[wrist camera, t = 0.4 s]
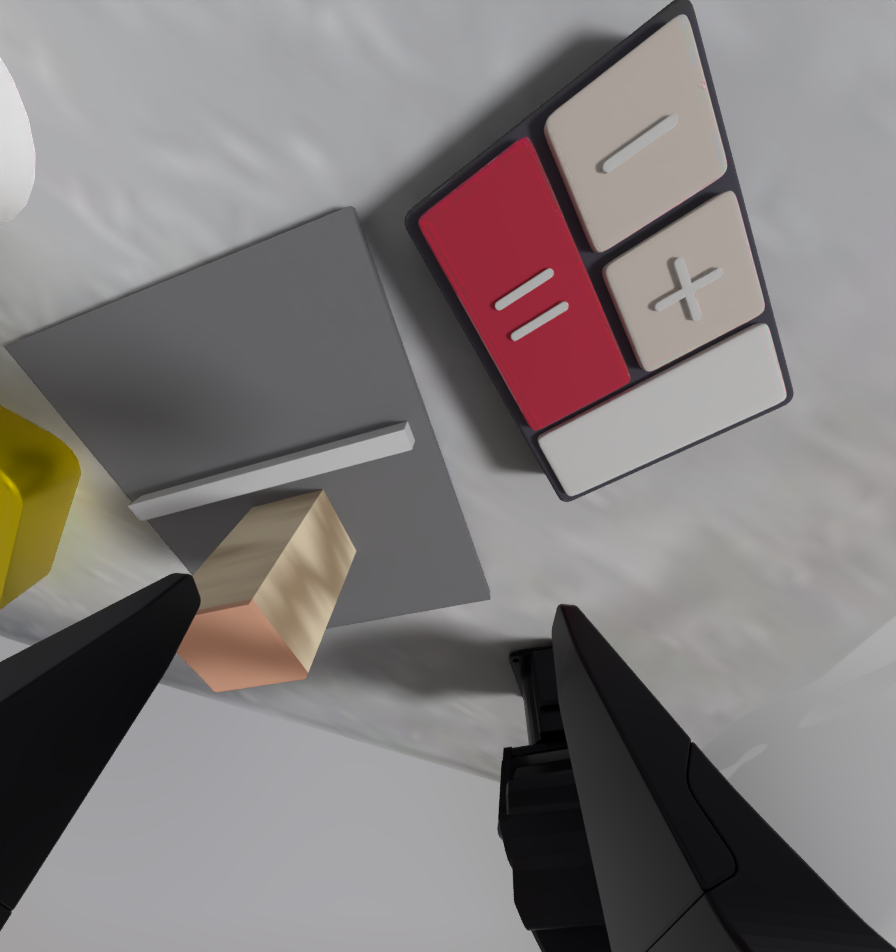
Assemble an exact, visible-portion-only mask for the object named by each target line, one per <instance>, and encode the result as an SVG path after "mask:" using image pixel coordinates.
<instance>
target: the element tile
mask: <svg viewBox="0 0 896 952" xmlns="http://www.w3.org/2000/svg"><path fill="white" fill-rule="evenodd" d="M80 476H81V471H80V466H79V462H78V459H77V458H76V456H75V455H74V453H73V451H72V450H71V449H70V448H69V447H68V446H67V445H66V444H64V443H63V442H62V441H61V440H60V439H58V438H57V437H56V436H54V435H53V434H51V433H49V432H48V431H46V430H44V429H42V428H40V427H38V426H37V425H35V424H33V423H31V422H29V421H28V420H26V419H24V418H22V417H20V416H18V415H17V414H15V413H13V412H11V411H9V410H8V409H6V408H4V407H2V406H0V610H1V609H2V608H3V607H5V606H6V605H7V604H9V603H10V602H11V601H13V600H14V599H15V598H17V597H18V596H19V595H21V594H22V593H23V592H25V591H26V590H27V589H29V588H30V587H32V586H33V585H34V584H36V583H37V582H38V581H40V580H41V579H42V578H44V577H45V576H46V575H48V573H49V572H50V570H51V567H52V564H53V561H54V557H55V554H56V551H57V548H58V545H59V542H60V538H61V535H62V532H63V529H64V526H65V523H66V520H67V516H68V513H69V510H70V507H71V504H72V501H73V498H74V494H75V491H76V488H77V485H78V482H79V479H80Z"/></svg>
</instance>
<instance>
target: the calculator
mask: <svg viewBox="0 0 896 952" xmlns="http://www.w3.org/2000/svg"><path fill="white" fill-rule="evenodd" d="M405 226H406V228H407V231H408V233H409V234H410V236H411V238H412V240H413V241H414V243H415V245H416V247H417V249H418V250H419V252H420V254H421V256H422V257H423V259H424V261H425V263H426V264H427V266H428V268H429V270H430V271H431V273H432V275H433V277H434V279H435V280H436V282H437V284H438V286H439V287H440V289H441V291H442V293H443V294H444V296H445V298H446V300H447V301H448V303H449V305H450V307H451V309H452V310H453V312H454V314H455V316H456V317H457V319H458V321H459V323H460V324H461V326H462V328H463V330H464V331H465V333H466V335H467V337H468V339H469V340H470V342H471V344H472V346H473V347H474V349H475V351H476V353H477V354H478V356H479V358H480V360H481V361H482V363H483V365H484V367H485V369H486V370H487V372H488V374H489V376H490V377H491V379H492V381H493V383H494V384H495V386H496V388H497V390H498V391H499V393H500V395H501V397H502V399H503V400H504V402H505V404H506V406H507V407H508V409H509V411H510V413H511V414H512V416H513V418H514V420H515V421H516V423H517V425H518V427H519V429H520V430H521V432H522V434H523V436H524V437H525V439H526V441H527V443H528V444H529V446H530V448H531V450H532V451H533V453H534V455H535V457H536V458H537V460H538V462H539V464H540V466H541V467H542V469H543V471H544V473H545V474H546V476H547V478H548V480H549V481H550V483H551V485H552V487H553V488H554V490H555V492H556V494H557V495H558V497H559V498H560V500H562V501H564V502H569V501H572V500H575V499H577V498H579V497H581V496H583V495H586V494H588V493H590V492H592V491H595V490H597V489H599V488H601V487H604V486H606V485H608V484H610V483H613V482H615V481H617V480H619V479H621V478H624V477H626V476H628V475H630V474H633V473H635V472H637V471H639V470H642V469H644V468H646V467H648V466H651V465H653V464H655V463H657V462H659V461H662V460H664V459H666V458H668V457H671V456H673V455H675V454H677V453H680V452H682V451H684V450H686V449H689V448H691V447H693V446H695V445H697V444H700V443H702V442H704V441H706V440H709V439H711V438H713V437H715V436H718V435H720V434H722V433H724V432H727V431H729V430H731V429H733V428H735V427H738V426H740V425H742V424H744V423H747V422H749V421H751V420H753V419H756V418H758V417H760V416H762V415H764V414H767V413H769V412H771V411H773V410H776V409H778V408H780V407H782V406H784V405H786V404H788V403H789V402H790V401H791V399H792V398H793V388H792V384H791V380H790V376H789V372H788V369H787V365H786V361H785V357H784V353H783V349H782V345H781V342H780V338H779V334H778V330H777V326H776V322H775V319H774V315H773V311H772V307H771V303H770V299H769V296H768V292H767V288H766V284H765V280H764V276H763V273H762V269H761V265H760V261H759V257H758V253H757V250H756V246H755V242H754V238H753V234H752V230H751V226H750V223H749V219H748V215H747V211H746V207H745V203H744V200H743V196H742V192H741V188H740V184H739V180H738V177H737V173H736V169H735V165H734V161H733V157H732V154H731V150H730V146H729V142H728V138H727V134H726V130H725V127H724V123H723V119H722V115H721V111H720V107H719V104H718V100H717V96H716V92H715V88H714V84H713V81H712V77H711V73H710V69H709V65H708V61H707V58H706V54H705V50H704V46H703V42H702V38H701V35H700V31H699V27H698V23H697V19H696V15H695V12H694V9H693V6H692V4H691V2H690V1H689V0H674V1H673V2H671V3H670V4H669V5H667V6H666V7H665V8H663V9H662V10H661V11H660V12H658V13H657V14H656V15H655V16H653V17H652V18H651V19H650V20H648V21H647V22H646V23H644V24H643V25H642V26H641V27H639V28H638V29H637V30H636V31H634V32H633V33H632V34H631V35H629V36H628V37H627V38H626V39H624V40H623V41H622V42H621V43H619V44H618V45H617V46H616V47H614V48H613V49H612V50H611V51H609V52H608V53H607V54H605V55H604V56H603V57H602V58H600V59H599V60H598V61H597V62H595V63H594V64H593V65H592V66H590V67H589V68H588V69H587V70H585V71H584V72H583V73H582V74H580V75H579V76H578V77H577V78H575V79H574V80H573V81H571V82H570V83H569V84H568V85H566V86H565V87H564V88H563V89H561V90H560V91H559V92H558V93H556V94H555V95H554V96H553V97H551V98H550V99H549V100H548V101H546V102H545V103H544V104H543V105H541V106H540V107H539V108H538V109H536V110H535V111H534V112H532V113H531V114H530V115H529V116H527V117H526V118H525V119H524V120H522V121H521V122H520V123H519V124H517V125H516V126H515V127H514V128H512V129H511V130H510V131H509V132H507V133H506V134H505V135H504V136H502V137H501V138H500V139H498V140H497V141H496V142H495V143H493V144H492V145H491V146H490V147H488V148H487V149H486V150H485V151H483V152H482V153H481V154H480V155H478V156H477V157H476V158H475V159H473V160H472V161H471V162H470V163H468V164H467V165H466V166H465V167H463V168H462V169H461V170H459V171H458V172H457V173H456V174H454V175H453V176H452V177H451V178H449V179H448V180H447V181H446V182H444V183H443V184H442V185H441V186H439V187H438V188H437V189H436V190H434V191H433V192H432V193H431V194H429V195H428V196H427V197H425V198H424V199H423V200H422V201H420V202H419V203H418V204H417V205H415V206H414V207H413V208H412V209H411V210H410V211H409V212H408V213H407V215H406V218H405Z"/></svg>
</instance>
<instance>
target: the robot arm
mask: <svg viewBox="0 0 896 952" xmlns="http://www.w3.org/2000/svg"><path fill="white" fill-rule="evenodd" d="M200 603H201V597H200V594H199V591H198V589H197V586H196V583H195V580H194V578H193V576H191V575H190V574H181V573H173V574H170V575H168V576H166V577H164V578H162V579H160V580H159V581H157V582H155V583H153V584H151V585H149V586H147V587H145V588H143V589H141V590H139V591H137V592H135V593H133V594H131V595H129V596H127V597H126V598H124V599H122V600H120V601H118V602H116V603H114V604H112V605H110V606H108V607H106V608H104V609H102V610H100V611H98V612H96V613H94V614H92V615H91V616H89V617H87V618H85V619H83V620H81V621H79V622H77V623H75V624H73V625H71V626H69V627H67V628H65V629H63V630H61V631H59V632H57V633H56V634H54V635H52V636H50V637H48V638H46V639H44V640H42V641H40V642H38V643H36V644H34V645H32V646H30V647H28V648H26V649H24V650H22V651H21V652H19V653H17V654H15V655H13V656H11V657H9V658H7V659H5V660H3V661H2V662H0V931H1V929H2V928H3V926H4V924H5V923H6V921H7V920H8V918H9V916H10V915H11V913H12V912H11V911H12V910H13V909H14V908H15V907H16V905H17V904H18V902H19V900H20V899H21V897H22V896H23V894H24V893H25V891H26V890H27V888H28V886H29V885H30V883H31V882H32V880H33V879H34V877H35V876H36V874H37V872H38V871H39V869H40V868H41V866H42V864H43V863H44V861H45V860H46V858H47V857H48V855H49V854H50V852H51V850H52V849H53V847H54V846H55V844H56V843H57V841H58V840H59V838H60V836H61V835H62V833H63V832H64V830H65V829H66V827H67V825H68V823H69V822H70V821H71V819H72V818H73V816H74V814H75V813H76V811H77V810H78V808H79V807H80V805H81V804H82V802H83V800H84V799H85V797H86V796H87V794H88V792H89V791H90V789H91V788H92V786H93V785H94V783H95V782H96V780H97V779H98V776H99V775H100V774H101V772H102V771H103V769H104V768H105V766H106V764H107V763H108V761H109V760H110V758H111V757H112V755H113V753H114V752H115V750H116V749H117V747H118V746H119V744H120V743H121V741H122V739H123V738H124V736H125V735H126V733H127V732H128V730H129V728H130V727H131V725H132V723H133V722H134V721H135V719H136V717H137V716H138V714H139V713H140V711H141V710H142V708H143V706H144V705H145V703H146V702H147V700H148V699H149V697H150V696H151V694H152V692H153V691H154V689H155V688H156V686H157V685H158V683H159V682H160V680H161V678H162V677H163V675H164V673H165V672H166V670H167V669H168V667H169V665H170V663H171V661H172V660H173V658H174V656H175V654H176V652H177V650H178V648H179V646H180V644H181V642H182V640H183V638H184V637H185V635H186V633H187V631H188V629H189V627H190V625H191V623H192V621H193V619H194V617H195V615H196V613H197V611H198V609H199V607H200ZM552 643H553V646H551V647H544V648H538V649H531V650H524V651H517V652H512V653H511V654H510V655H509V660H510V664H511V666H512V669H513V672H514V675H515V677H516V680H517V683H518V686H519V689H520V691H521V694H522V697H523V700H524V706H525V715H526V723H527V732H528V741H529V745H527V746H521V747H515V748H512V747H506V748H504V751H503V760H502V766H501V782H500V799H499V815H498V816H499V817H498V820H499V821H498V834H499V837H500V838H501V839H502V840H503V843H504V847H505V851H506V855H507V858H508V861H509V863H510V866H511V867H512V869H513V889H514V902H515V905H516V908H517V910H518V913H519V915H520V917H521V920H522V922H523V924H524V926H525V928H526V929H527V930H531V931H532V933H533V935H534V937H535V939H536V941H537V943H538V945H539V947H540V949H541V951H542V952H896V948H895V947H894V946H892V945H891V944H890V943H888V942H887V941H886V940H885V939H884V938H883V937H881V936H880V935H879V934H878V933H877V932H876V931H875V930H874V929H872V928H871V927H870V926H869V925H868V924H867V923H866V922H864V920H863V919H862V918H860V917H859V916H858V915H857V914H856V913H855V912H854V911H853V910H852V909H851V908H850V907H849V906H848V905H847V904H846V903H845V902H844V901H843V900H842V899H841V898H840V897H839V896H838V895H837V894H836V893H835V892H834V891H833V890H832V888H830V886H828V885H827V883H826V882H824V880H823V879H822V878H821V877H820V876H819V875H818V874H817V873H816V872H815V871H814V870H813V869H812V868H811V867H810V866H809V865H808V864H807V863H806V862H805V861H804V860H803V859H802V858H801V857H800V856H799V855H798V854H797V853H796V852H795V851H794V850H793V849H792V848H791V847H790V846H789V845H788V844H787V843H786V842H785V841H784V840H783V839H782V838H781V836H779V834H778V833H777V832H776V831H775V830H774V829H773V828H772V827H771V826H770V825H769V824H768V823H767V822H766V821H765V820H764V819H763V818H762V817H761V816H760V815H759V814H758V813H757V812H756V811H755V810H754V809H753V807H752V806H751V805H750V804H749V803H748V802H747V801H746V800H745V799H744V798H743V797H742V796H741V795H740V794H739V793H738V792H737V791H736V790H735V788H734V787H733V786H732V785H731V784H730V783H729V782H728V781H727V779H726V778H725V777H724V776H723V775H722V774H721V773H720V772H719V770H718V769H717V768H716V767H715V766H714V765H713V764H712V763H711V762H710V761H709V759H708V758H707V757H706V756H705V755H704V753H703V752H702V751H701V750H700V749H699V748H698V746H697V745H696V744H695V743H694V742H691V739H690V737H689V736H688V735H687V734H686V733H685V731H684V730H683V729H682V728H681V727H680V726H679V724H678V723H677V722H676V721H675V720H674V719H673V717H672V716H671V715H670V714H669V713H668V712H667V710H666V709H665V708H664V707H663V706H662V705H661V703H660V702H659V701H658V700H657V699H656V698H655V696H654V695H653V694H652V693H651V692H650V691H649V689H648V688H647V687H646V686H645V685H644V684H643V682H642V681H641V680H640V679H639V678H638V677H637V675H636V674H635V673H634V672H633V671H632V670H631V668H630V667H629V666H628V665H627V664H626V663H625V661H624V660H623V659H622V658H621V657H620V656H619V654H618V653H617V652H616V651H615V650H614V649H613V647H612V646H611V645H610V644H609V643H608V642H607V640H606V639H605V638H604V637H603V636H602V635H601V633H600V632H599V631H598V630H597V629H596V628H595V627H594V625H593V624H592V623H591V622H590V621H589V620H588V618H587V617H586V616H585V615H584V614H583V613H582V611H581V610H580V609H579V608H578V607H577V606H575V605H567V604H560V605H559V606H558V607H557V610H556V614H555V618H554V622H553V626H552Z"/></svg>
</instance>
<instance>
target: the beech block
mask: <svg viewBox="0 0 896 952" xmlns="http://www.w3.org/2000/svg"><path fill="white" fill-rule="evenodd" d="M355 553H356V549H355V548H354V546H353V544H352V542H351V540H350V538H349V536H348V535H347V533H346V531H345V529H344V527H343V525H342V523H341V522H340V520H339V518H338V516H337V514H336V512H335V510H334V509H333V507H332V505H331V503H330V501H329V499H328V497H327V496H326V494H325V492H324V490H323V489H322V490H318V491H314V492H310V493H306V494H302V495H299V496H295V497H291V498H287V499H283V500H279V501H275V502H271V503H267V504H263V505H259V506H255V507H252V508H251V510H250V511H249V512H248V513H247V514H246V515H245V516H244V518H243V519H242V520H241V521H240V522H239V523H238V524H237V525H236V527H235V528H234V529H233V530H232V531H231V532H230V533H229V535H228V536H227V537H226V538H225V539H224V540H223V541H222V542H221V544H220V545H219V546H218V547H217V548H216V549H215V550H214V552H213V553H212V554H211V555H210V556H209V557H208V558H207V559H206V561H205V562H204V563H203V564H202V565H201V566H200V567H199V569H198V570H197V571H196V572H195V573H194V574H193V575H192V576H193V578H194V580H195V583H196V586H197V589H198V591H199V594H200V597H201V603H200V607H199V609H198V611H197V613H196V615H195V617H194V619H193V621H192V623H191V625H190V627H189V629H188V631H187V633H186V635H185V637H184V638H183V640H182V642H181V644H180V646H179V648H178V650H177V653H178V654H179V655H180V656H181V657H182V658H183V660H184V661H185V662H186V663H187V664H188V665H189V666H190V667H191V668H192V669H193V670H194V671H195V672H196V673H197V674H198V675H199V676H200V677H201V678H202V679H203V680H204V681H205V682H206V683H207V684H208V685H209V686H210V687H211V688H212V689H213V690H214V691H215V692H222V691H229V690H235V689H242V688H248V687H255V686H262V685H268V684H275V683H281V682H288V681H295V680H301V679H306V677H307V675H308V672H309V670H310V667H311V665H312V662H313V660H314V657H315V654H316V652H317V649H318V647H319V644H320V642H321V639H322V637H323V634H324V632H325V629H326V627H327V624H328V622H329V619H330V617H331V614H332V611H333V609H334V606H335V604H336V601H337V599H338V596H339V594H340V591H341V589H342V586H343V584H344V581H345V579H346V576H347V574H348V571H349V568H350V566H351V563H352V561H353V558H354V556H355Z"/></svg>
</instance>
